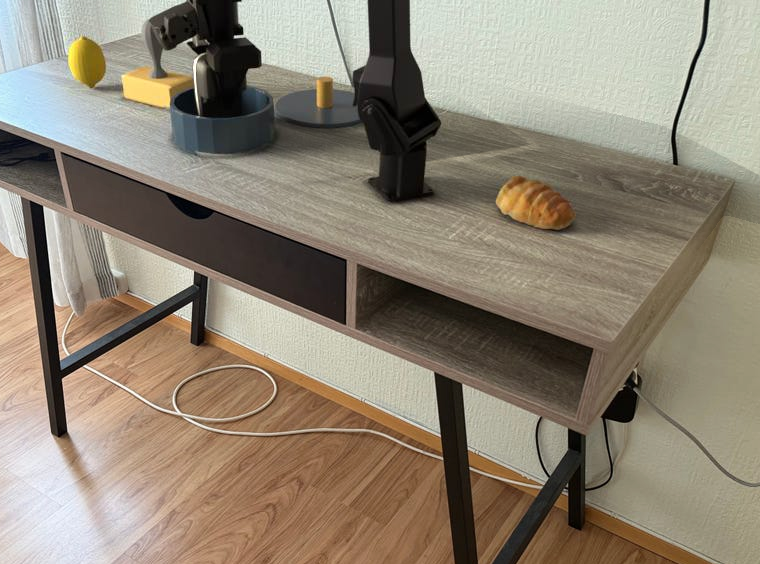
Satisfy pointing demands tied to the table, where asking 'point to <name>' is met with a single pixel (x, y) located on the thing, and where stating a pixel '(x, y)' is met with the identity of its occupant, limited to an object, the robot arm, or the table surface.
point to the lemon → (87, 61)
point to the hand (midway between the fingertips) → (222, 103)
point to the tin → (223, 124)
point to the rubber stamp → (153, 76)
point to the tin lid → (319, 106)
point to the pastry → (534, 204)
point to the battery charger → (212, 92)
